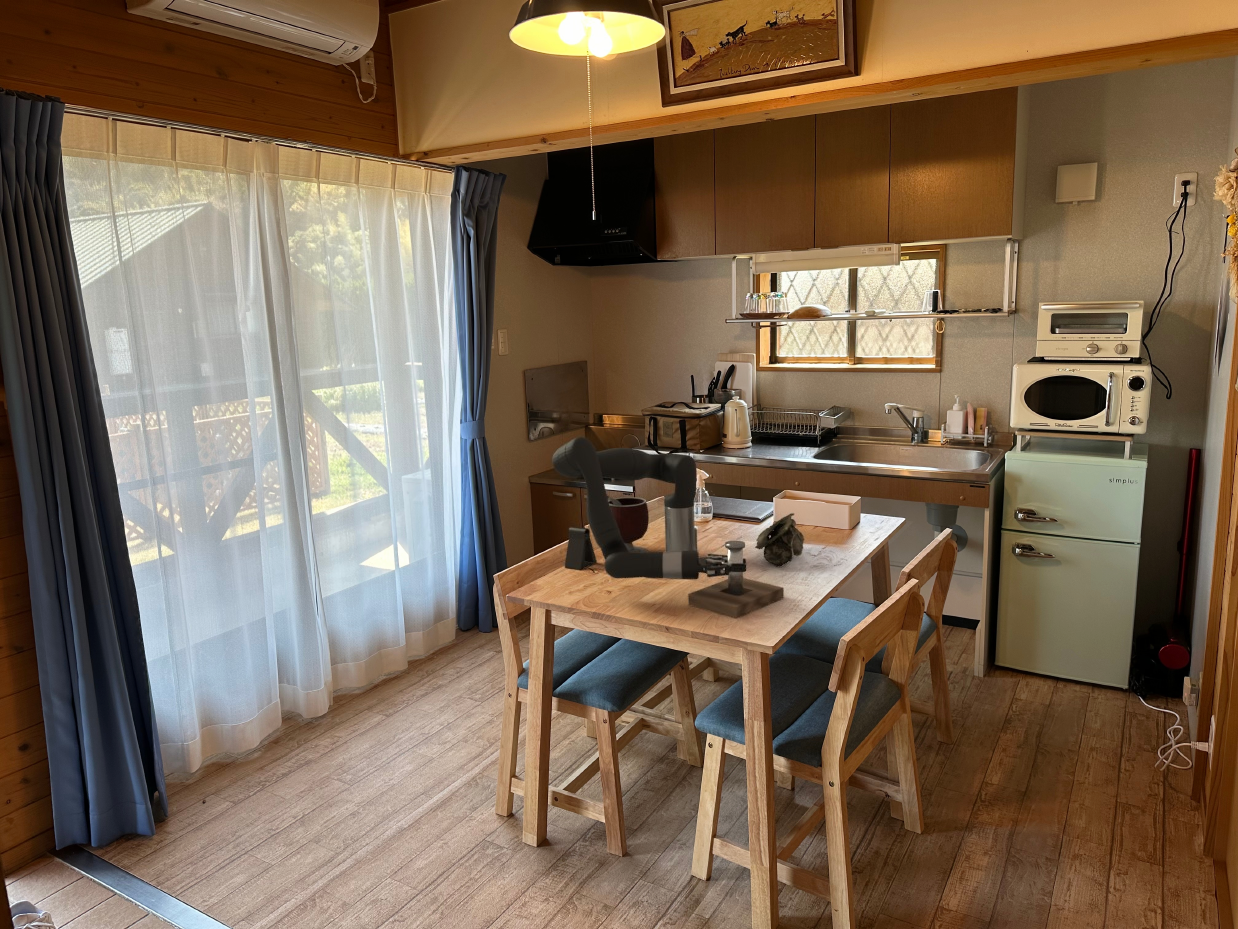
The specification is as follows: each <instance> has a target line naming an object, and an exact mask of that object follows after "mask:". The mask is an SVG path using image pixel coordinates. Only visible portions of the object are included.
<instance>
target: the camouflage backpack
mask: <svg viewBox="0 0 1238 929" xmlns="http://www.w3.org/2000/svg"><path fill="white" fill-rule="evenodd" d="M792 516H795V513H794V512H792V513H789V514H787V515H786V516H783V517H782V518H780V519H778V520H777V521H776V522H774V523H772V524H771V525H770V526H768V527H767V528H765V529H764V530H762V532H760V533H759V535H758V537H757V539H756V546H754V548H755V549H758V550H763V558H764V560H765V561H766V562H767V563H768V564H770V565H773V566H775V567H776V568H782V567H783V566H785V565H786V564H788V563H789V562H792V559H793V557H794V556H796V557H799V556H801V555H802V554H803V549H804V542H805V537H804V534H803V533H802V532H801V531H800V530H799V529H798V528H797V527H796V526H797V523H796V520H795V519H794V518H792Z"/></svg>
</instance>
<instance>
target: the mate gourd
mask: <svg viewBox="0 0 1238 929" xmlns="http://www.w3.org/2000/svg"><path fill="white" fill-rule="evenodd" d="M607 498H608V502H609V505H610V508H611V511H612V513H613V516H614V518H615V521H616V523H617V526H618V528H619V531H620V535H621V537H622V540H623V541H624V543H625V545H626V547H627V549H628V551H629V552H634V553H646V552H648V549H647V548H645V547H642V546H637V545H635V546H634V544H633V543H634V542H635V541H638V540H640V539H642V538H643V537H644V535H645V534H646V532H648V529H649V522H650V519H649V518H650V517H649V516H650V515H649V508H648V507H649V506H648V504H647V500H646V499H645V498H642V497H636V496H635V497H634V496H633V497H631V496H628V497H627V496H626V497H625V496H624V497H616V498H613V497H607Z"/></svg>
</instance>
